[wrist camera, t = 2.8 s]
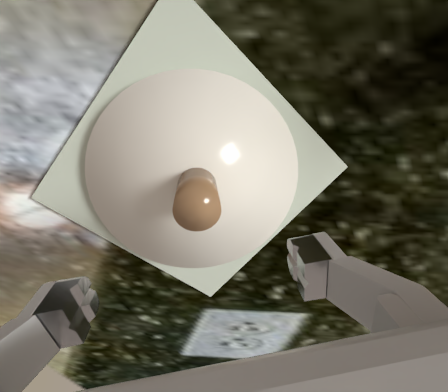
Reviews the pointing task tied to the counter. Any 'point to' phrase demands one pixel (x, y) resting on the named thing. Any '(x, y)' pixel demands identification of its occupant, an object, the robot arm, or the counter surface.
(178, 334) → the counter surface
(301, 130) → the mat
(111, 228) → the lid
